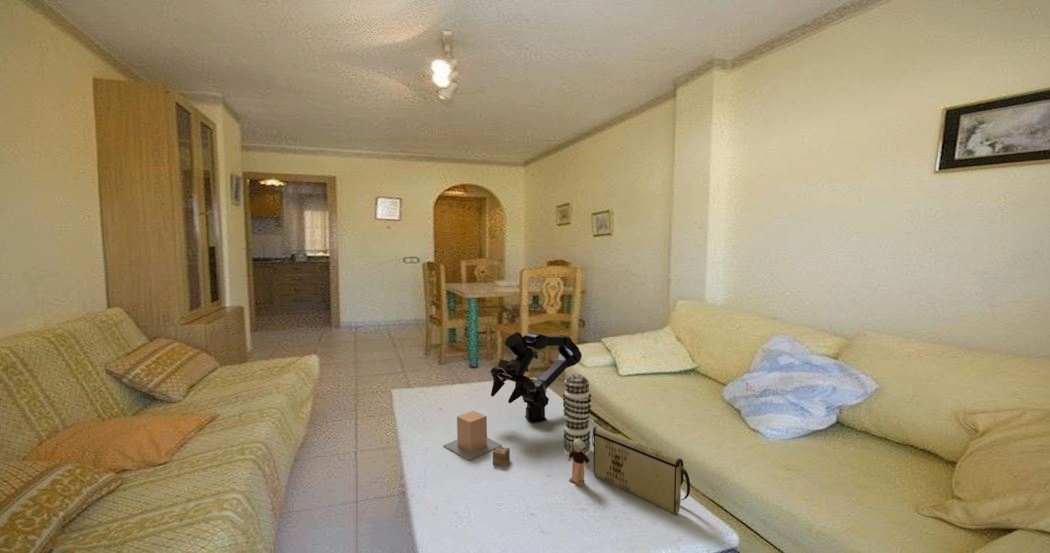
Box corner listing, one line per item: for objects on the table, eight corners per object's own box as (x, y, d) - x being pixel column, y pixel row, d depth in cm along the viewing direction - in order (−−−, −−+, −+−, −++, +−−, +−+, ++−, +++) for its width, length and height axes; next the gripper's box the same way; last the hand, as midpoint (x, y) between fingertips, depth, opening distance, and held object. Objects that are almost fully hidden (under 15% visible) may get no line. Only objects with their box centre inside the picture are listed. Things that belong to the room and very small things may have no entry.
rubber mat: (475, 433, 158) (475, 432, 158) (501, 445, 148) (501, 444, 148) (443, 446, 148) (443, 445, 148) (468, 461, 139) (468, 459, 138)
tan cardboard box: (473, 438, 153) (473, 410, 152) (487, 444, 148) (486, 416, 148) (457, 445, 148) (457, 416, 147) (470, 452, 143) (470, 422, 143)
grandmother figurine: (563, 482, 126) (563, 439, 125) (568, 475, 130) (568, 434, 128) (589, 489, 123) (589, 445, 121) (593, 482, 126) (594, 439, 125)
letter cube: (498, 458, 140) (497, 446, 140) (509, 460, 139) (509, 448, 139) (492, 464, 137) (492, 451, 136) (504, 466, 135) (504, 453, 135)
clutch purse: (694, 509, 113) (696, 453, 112) (681, 521, 109) (682, 463, 107) (601, 466, 135) (601, 419, 134) (586, 474, 130) (586, 425, 129)
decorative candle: (590, 459, 139) (590, 382, 137) (561, 456, 141) (561, 380, 138) (591, 446, 148) (592, 373, 146) (564, 443, 150) (564, 371, 147)
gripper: (493, 345, 165) (470, 381, 158) (528, 354, 152) (505, 394, 145) (509, 361, 171) (488, 397, 164) (544, 371, 158) (523, 410, 151)
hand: (500, 399), depth 156 cm, fingers open, 9 cm apart
